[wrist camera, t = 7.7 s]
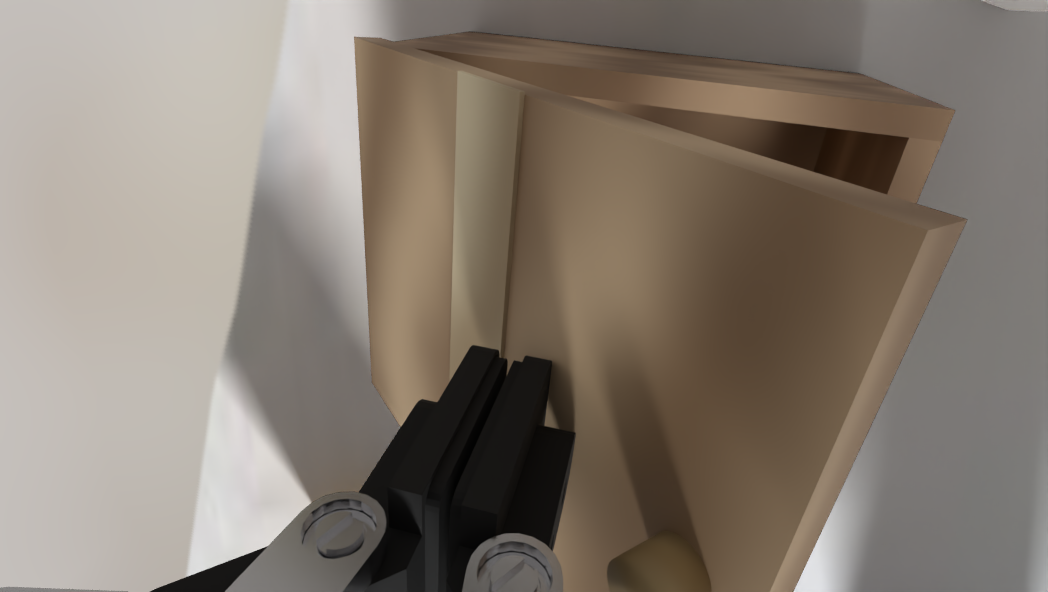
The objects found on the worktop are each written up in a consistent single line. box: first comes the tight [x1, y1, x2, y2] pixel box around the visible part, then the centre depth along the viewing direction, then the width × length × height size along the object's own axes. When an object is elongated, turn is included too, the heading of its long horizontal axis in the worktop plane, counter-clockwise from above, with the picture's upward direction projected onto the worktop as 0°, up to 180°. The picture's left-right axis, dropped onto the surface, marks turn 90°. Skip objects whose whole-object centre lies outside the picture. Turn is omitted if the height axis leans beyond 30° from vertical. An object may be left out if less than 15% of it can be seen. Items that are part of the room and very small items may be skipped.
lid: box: [354, 37, 967, 592], centre depth 14 cm, size 16×12×2 cm
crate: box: [395, 32, 955, 203], centre depth 23 cm, size 16×12×9 cm
